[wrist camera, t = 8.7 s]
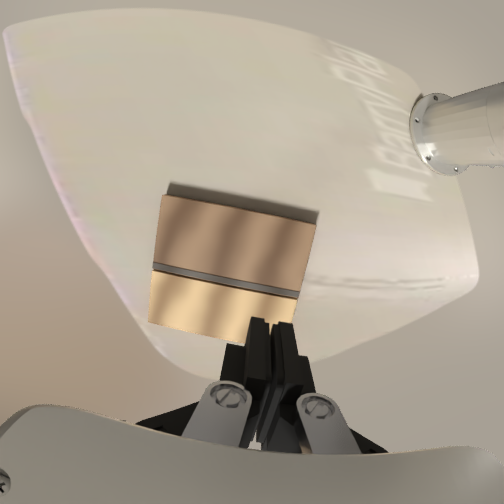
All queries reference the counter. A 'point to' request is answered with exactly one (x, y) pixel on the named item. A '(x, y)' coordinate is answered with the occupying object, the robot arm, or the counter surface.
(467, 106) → the robot arm
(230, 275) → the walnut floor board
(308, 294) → the counter surface
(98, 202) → the counter surface
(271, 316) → the oak plank
